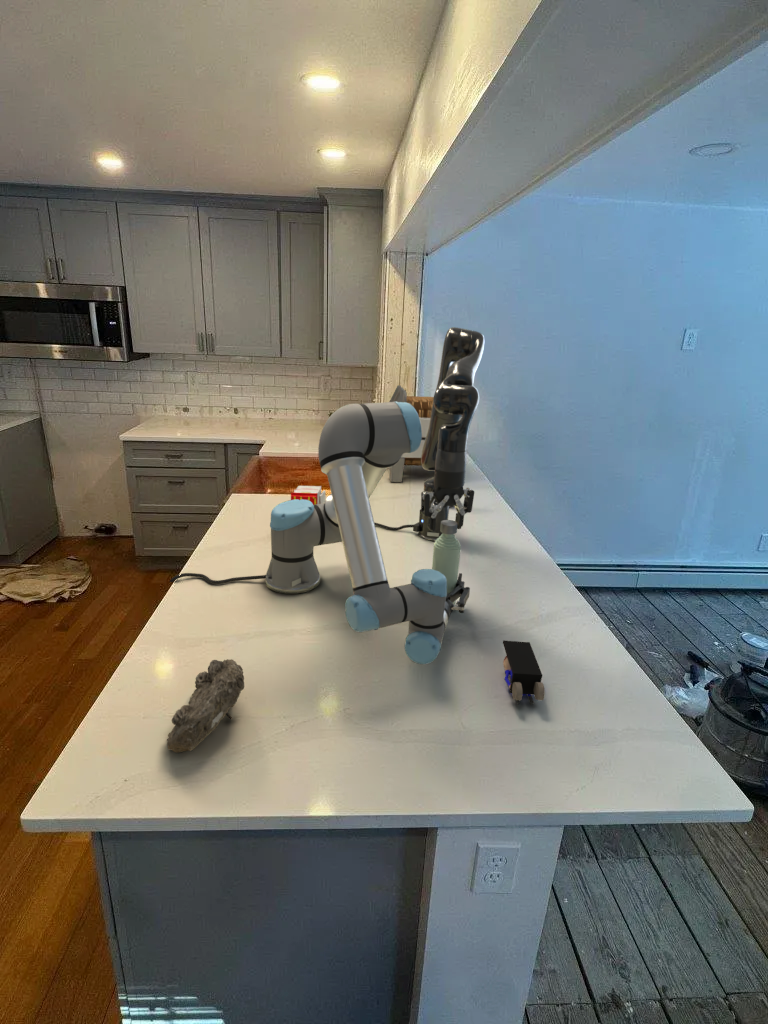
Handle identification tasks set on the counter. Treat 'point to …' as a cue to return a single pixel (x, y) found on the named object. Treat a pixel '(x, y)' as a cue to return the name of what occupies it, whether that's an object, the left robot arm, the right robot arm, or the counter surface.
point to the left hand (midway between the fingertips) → (446, 575)
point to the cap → (448, 527)
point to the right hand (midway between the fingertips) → (444, 529)
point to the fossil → (206, 705)
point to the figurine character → (522, 671)
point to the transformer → (424, 412)
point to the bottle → (447, 559)
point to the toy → (309, 494)
